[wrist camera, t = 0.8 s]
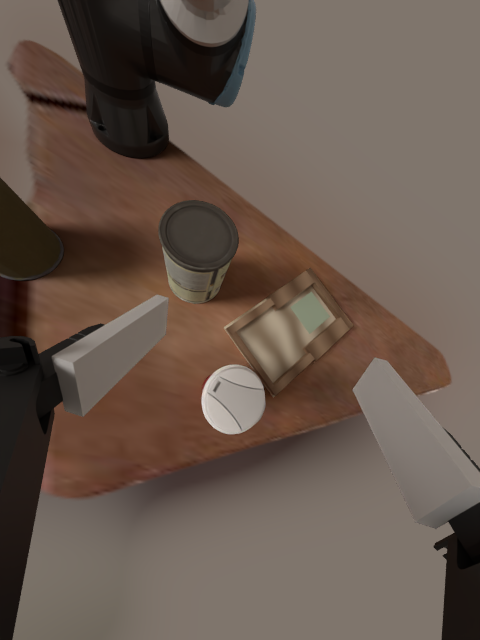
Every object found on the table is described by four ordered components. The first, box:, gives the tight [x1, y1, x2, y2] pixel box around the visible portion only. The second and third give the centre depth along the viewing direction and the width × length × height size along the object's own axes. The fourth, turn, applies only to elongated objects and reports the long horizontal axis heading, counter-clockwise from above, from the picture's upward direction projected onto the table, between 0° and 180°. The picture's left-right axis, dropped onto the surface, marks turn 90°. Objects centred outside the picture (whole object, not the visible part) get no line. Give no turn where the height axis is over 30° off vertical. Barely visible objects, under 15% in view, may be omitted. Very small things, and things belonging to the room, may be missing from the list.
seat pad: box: [290, 291, 330, 334], centre depth 44 cm, size 7×7×1 cm
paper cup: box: [202, 365, 265, 434], centre depth 29 cm, size 8×8×14 cm
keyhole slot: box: [224, 268, 354, 397], centre depth 41 cm, size 24×16×2 cm, turn 127°
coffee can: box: [159, 200, 239, 304], centre depth 33 cm, size 10×10×14 cm
